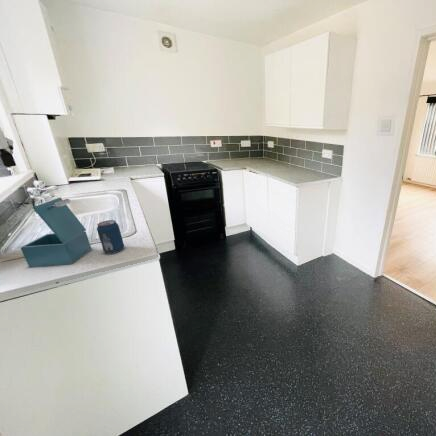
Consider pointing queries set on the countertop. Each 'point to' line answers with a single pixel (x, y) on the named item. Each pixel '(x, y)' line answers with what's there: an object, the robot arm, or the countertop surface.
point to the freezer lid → (60, 219)
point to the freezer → (55, 250)
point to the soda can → (110, 236)
